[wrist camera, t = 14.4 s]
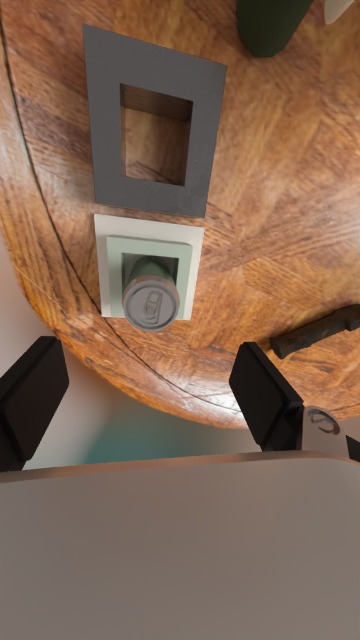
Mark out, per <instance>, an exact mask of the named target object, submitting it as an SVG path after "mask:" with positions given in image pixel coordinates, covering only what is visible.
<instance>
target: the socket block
mask: <svg viewBox="0 0 360 640" xmlns="http://www.w3.org/2000/svg"><path fill="white" fill-rule="evenodd" d="M82 24H83V23H82ZM83 37H84V51H85V65H86V78H87V92H88V105H89V119H90V132H91V146H92V160H93V173H94V187H95V200H96V203H97V204H100V205H103V206H109V207H116V208H124V209H131V210H138V211H146V212H153V213H160V214H168V215H175V216H182V217H190V218H204V217H205V210H206V204H207V197H208V190H209V184H210V177H211V171H212V164H213V157H214V151H215V144H216V138H217V131H218V124H219V118H220V111H221V105H222V98H223V92H224V85H225V78H226V72H227V66H226V65H223V64H219V63H216V62H213V61H209V60H206V59H202V58H199V57H196V56H192V55H189V54H185V53H182V52H178V51H175V50H172V49H168V48H165V47H161V46H158V45H155V44H151V43H148V42H144V41H141V40H137V39H134V38H131V37H127V36H124V35H120V34H117V33H113V32H110V31H107V30H103V29H100V28H96V27H93V26H90V25H86V24H83ZM125 107H126V108H131V109H135V110H139V111H144V112H148V113H153V114H157V115H161V116H166V117H170V118H175V119H179V120H183V121H186V129H185V140H184V150H183V161H182V171H181V182H180V186H178V185H172V184H166V183H160V182H154V181H148V180H142V179H135V178H129V177H126V153H125Z"/></svg>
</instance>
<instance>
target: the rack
mask: <svg viewBox="0 0 360 640" xmlns="http://www.w3.org/2000/svg"><path fill="white" fill-rule="evenodd" d="M94 221H95V234H96V247H97V259H98V272H99V285H100V297H101V310H102V317H124V318H126V317H125V314H124V310H123V307H122V295H123V292H124V290H125V287H126V284H127V282H128V279H129V276H130V273H131V271H132V268H133V266H134V264H135V263H136V262H137V261H138V260H139V259H141V258H142V257H145V256H155V257H158V258H160V259H162V260H163V261H164V262H165V263H166V264H167V266H168V268H169V270H170V273H171V276H172V278H173V281H174V283H175V286H176V288H177V291H178V294H179V299H180V306H179V310H178V315H177V317H176V318H175V319H176V320H190V318H191V312H192V305H193V299H194V292H195V286H196V280H197V273H198V267H199V260H200V254H201V247H202V241H203V234H204V228H203V227H195V226H187V225H179V224H172V223H164V222H156V221H148V220H140V219H133V218H125V217H117V216H109V215H102V214H94Z"/></svg>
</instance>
